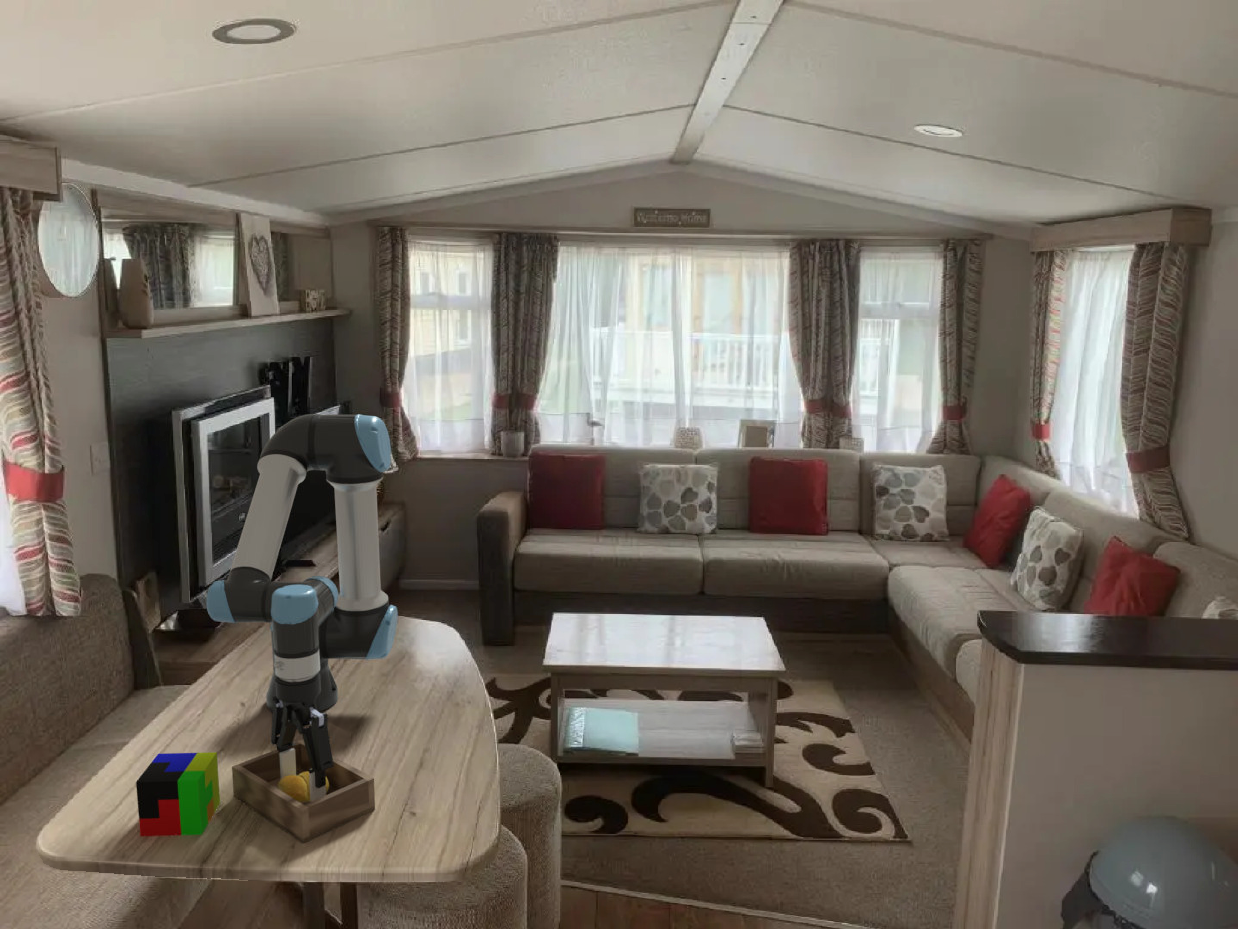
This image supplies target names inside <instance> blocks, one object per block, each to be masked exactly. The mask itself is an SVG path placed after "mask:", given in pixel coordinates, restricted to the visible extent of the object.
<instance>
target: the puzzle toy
mask: <svg viewBox="0 0 1238 929" xmlns="http://www.w3.org/2000/svg"><path fill="white" fill-rule="evenodd" d="M135 785H136V786H135V788H136V798H137V810H138V822H139V836H140V837H165V836H166V837H167V836H169V837H170V836H171V837H172V836H198V835H199V836H202V835H203V833H204V832H205V830H206V829H207V827H208V825H209V823H210V822H211V820H212V819H213V817H214V815H215V813H216V812H215V811H217V810H218V808H219V807H220V805H221V796H220V794H221V793H220V781H219V765H218V752H215V751H214V752H213V751H212V752H208V751H207V752H172V753H169V752H168V753H157V755H156V756H155V757H154V759H153V760H151V762H150V764H148V766H147V768H145V770H144V771H143V773H142V774H141V775H140V776H139V778H138V779H137V780H136V781H135ZM219 804H220V805H219ZM218 806H219V807H218ZM216 809H217V810H216ZM212 816H213V817H212Z"/></svg>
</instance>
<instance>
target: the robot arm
mask: <svg viewBox="0 0 1238 929" xmlns="http://www.w3.org/2000/svg"><path fill="white" fill-rule="evenodd" d="M391 447H392V446H391V441H390V435H389V431H388V429H387V426H386V424H385V422H384V421H383V419H381V418H380V417H377V416H375V415H366V414H365V415H363V414H360V413H359V414H316V413H310V414H309V413H307V414H303V415H300V416H297V417H295V418H294V419H291V420H290V421H288V422H287V423H285V424H283V425H282V426H281V427H280V428H279V429H277V431H276V432H275V433H273V435H272V436H271V437H270V439H269V440H268V441H267V442H266V444H265V446H264V448H263V449H262V451H261V453H260V455H259V459H258V462H257V471H258V473H259V477H258V480H257V483H256V486H255V490H254V493H253V496H252V499H251V502H250V504H249V509H248V512H247V515H246V518H245V522H244V525H243V528H242V531H241V534H240V538H239V541H238V544H237V547H236V551H235V555H234V558H233V559H232V560H233V561H232V564H231V567H230V570H229V574H228V577H227V579H222V580H215V581H213V582H212V584H211V585H210V586H209V588H208V591H207V595H206V610H207V612H208V615H209V617H210V618H211V620H213V621H214V622H224V623H230V624H237V623H269V624H270V625H271V626H269V628H270V629H269V630H270V632H271V633H270V634H271V636H270V637H271V652H272V670H273V671H272V674H271V679H270V682H269V686H268V689H267V692H266V695H265V696H266V697H265V699H266V708H267V710H268V711H270V712H271V713H272V720H271V730H270V731H271V732H270V733H271V735H270V743H271V746H275V745H276V749H277V750H278V751H279V759H280V775H281V779H282V778H283V777H285V776H289V775H296V758H295V749H294V748H291V749H290V747H292V746H295V743H294V741H295V740H294V739H295V735H296V733H297V731H298V734H299V735H301V736H302V739H303V740H304V743H305V747H306V750H307V754H308V757H309V761H310V764H311V767H312V769H310V770H308V771H309V785H310V802H312V801H315V800H317V799H319V798H321V797H324V796H326V769H328V768H331V767H333V765H334V764H333V758H332V756H333V752H332V746H331V740H330V734H329V733H330V732H329V729H328V727H329V726H328V719H329V717H328V713H327V712H326V711H325V710H327V709H329V708H330V707H333V706H334V705H335V704H336V703H337V702H338V699H339V691H338V685H337V683H336V681H335V677H334V675H333V673H332V671H331V668H330V666H329V663H330V662H329V659H331V660H332V659H333V660H335V659H336V660H365V661H369V660H382V659H385V658H387V657H388V655H389V654H390V653H391V650H392V648H393V644H394V641H395V636H396V632H397V626H398V618H399V617H398V616H399V615H398V607H397V606H396V605H393V604H390V603H389V596H388V594H387V593H385V592H384V591H383V590H382V588H381V587H382V585H381V565H380V544H379V543H380V540H379V521H378V496H377V491H378V490H377V485H378V484H379V483H380V482H381V481H382V480H383V479H384V472H388V470H389V469H390V467H391V463H392V456H391V455H392V448H391ZM309 471H325V478H326V479H325V480H326V482H327V483H329V484H330V486H332V487H333V488H334V504H335V507H334V508H335V521H336V522H335V523H336V541H337V559H338V561H337V562H338V575H339V576H338V577H339V579H338V580H339V591H338V588H337V586H336V584H335V583H334V582H333V580H331V579H330V578H328V577H326V576H321V575H315V576H311V577H309V578H306V579H305V580H303V581H275V580H274V581H273V580H272V578H273V572H274V570H275V567H276V565H277V564H276V563H277V559H278V556H279V553H280V549H281V545H282V542H283V538H284V535H285V531H286V528H287V526H288V525H287V524H288V521H289V518H290V513H291V510H292V507H293V503H294V499H295V497H296V492H297V490H298V486H299V484H300V483H301V484H302V482H304V480H305V479H306V476H307V473H308V472H309ZM271 580H272V581H271ZM323 711H324V712H323ZM293 744H294V745H293Z"/></svg>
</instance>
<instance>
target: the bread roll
mask: <svg viewBox="0 0 1238 929" xmlns="http://www.w3.org/2000/svg"><path fill="white" fill-rule="evenodd" d="M277 789H279V790H281V791H282V792H284V793H286V794H287V795H289V796H290V797H292V798H294V799H295V800H297V801H298V802H300V803H302V804H306V803H308V802H310V785H309V771H307V772H303V773H300V774H299V775H298V776H296V775H289V776H285V777H283V778H282V779H281V780H280V781H279V783H278V786H277ZM328 789H329V781H328V779H327V777H326V793H327V791H328Z"/></svg>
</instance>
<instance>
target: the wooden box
mask: <svg viewBox="0 0 1238 929" xmlns="http://www.w3.org/2000/svg"><path fill="white" fill-rule="evenodd" d="M293 742H294V741H293ZM294 743H295V746H292V747H290V749H291V748H294V749H295V758H296V776H298V775H299V774H300V773H303V772H307V771H308V770H310V769H312V767H311V764H310V761H309V757H308V754H307V750H306V747H305V743H304V740H303V738H302V739H300V740H298V741H295V742H294ZM293 745H294V744H293ZM332 758H333V764H334V765H333V767H331V768H328V769H326V777H327V779H328V781H329V789H328V791H327V793H326V796H324V797H321V798H319V799H317V800H315V801H312V802H308V803H306V804H302V803H300V802H298V801H297V800H295V799H294V798H292V797H290V796H289V795H287V794H286V793H284V792H282V791H281V790H279V789H277V786H278V783H279V781H280V780H281V775H280V759H279V751H278V750H277V748H276V749H274V750H271V751H269V752H266V753H264V754H261V755H258V756H256V757H253V758H250V759H248V760H245V761H243V762H240V763H237V764H235V765H233V766H231V773H232V790H233V791H232V792H233V798H234V797H235V798H234V799H236V800H237V801H238V802H240V803H242V804H243V803H244V804H243V805H244V806H246V807H248V808H249V809H251V810H252V809H253V810H252V811H254V812H255V813H257V814H258V815H260V816H262V817H263V818H265V819H266V820H267V821H269V822H271V823H272V824H274V825H275V826H276V827H278V828H280V829H281V830H283V831H284V832H285V833H287V834H288V835H290V836H292V837H294V839H296V840H297V841H299V842H301V843H302V844H305V843H307V842H310V841H311V840H315V838H317V837H320V836H322V835H324V834H327V833H329V832H330V831H333V830H335V829H336V828H339V827H341V826H344V825H345V824H347V823H349V822H351V821H353V820H355V819H357V818H360V817H362V816H364V815H366V814H368V813H370V812H372V811H375V810H376V802H375V801H376V800H375V798H376V797H375V795H376V794H375V793H376V792H375V778H374V777H372V776H371V775H369V774H367V773H365V772H364V771H362V770H361V769H357V768H356V767H355V766H352V765H351V764H349V763H347V762H345V761H343V760H341V759H340V758H338V757H336V756H334V755H332Z"/></svg>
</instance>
